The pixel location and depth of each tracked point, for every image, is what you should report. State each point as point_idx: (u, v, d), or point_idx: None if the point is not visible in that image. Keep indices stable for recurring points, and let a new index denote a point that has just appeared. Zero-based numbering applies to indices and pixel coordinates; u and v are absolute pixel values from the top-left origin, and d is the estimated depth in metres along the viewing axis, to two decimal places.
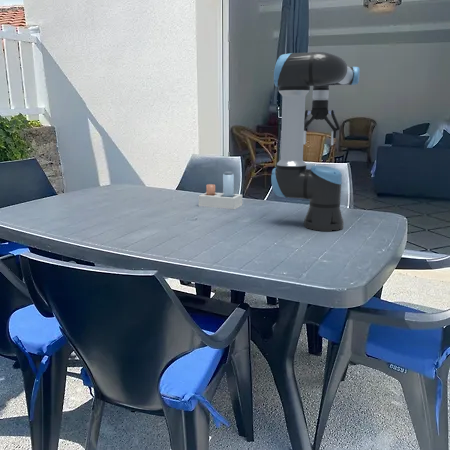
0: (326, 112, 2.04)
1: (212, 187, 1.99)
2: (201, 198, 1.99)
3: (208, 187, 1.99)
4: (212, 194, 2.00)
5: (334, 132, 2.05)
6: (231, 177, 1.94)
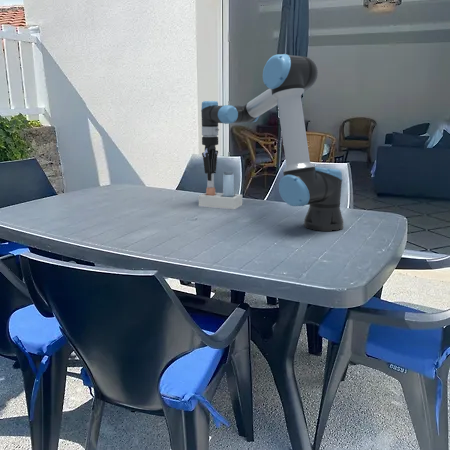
0: None
1: (212, 190, 2.00)
2: (201, 198, 1.99)
3: (208, 190, 2.00)
4: None
5: None
6: (231, 177, 1.94)
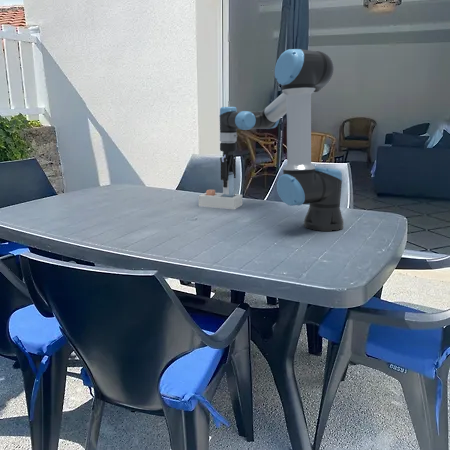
0: None
1: (212, 192, 2.00)
2: (201, 198, 1.99)
3: (208, 192, 2.00)
4: None
5: None
6: (231, 177, 1.94)
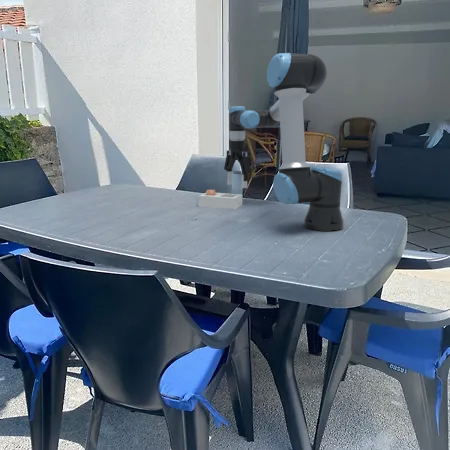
0: (239, 153, 2.00)
1: (212, 192, 2.00)
2: (201, 198, 1.99)
3: (208, 192, 2.00)
4: None
5: (244, 175, 2.01)
6: None
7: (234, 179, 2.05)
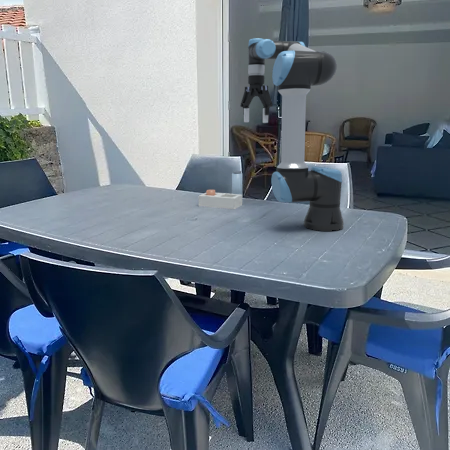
0: (259, 88, 1.95)
1: (212, 192, 2.00)
2: (201, 198, 1.99)
3: (208, 192, 2.00)
4: None
5: (265, 109, 1.95)
6: None
7: (234, 179, 2.05)
